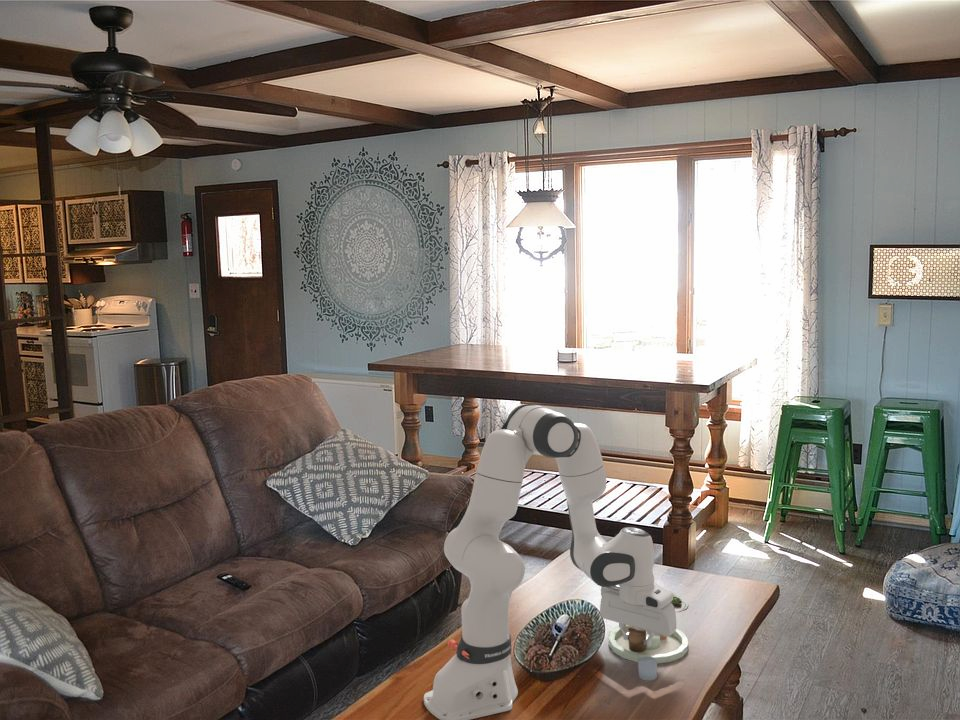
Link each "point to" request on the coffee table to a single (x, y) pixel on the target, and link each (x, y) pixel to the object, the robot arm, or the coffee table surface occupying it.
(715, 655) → the coffee table surface
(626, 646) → the ring dish
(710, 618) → the coffee table surface
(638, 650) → the walnut bead
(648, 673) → the slate-blue bead
